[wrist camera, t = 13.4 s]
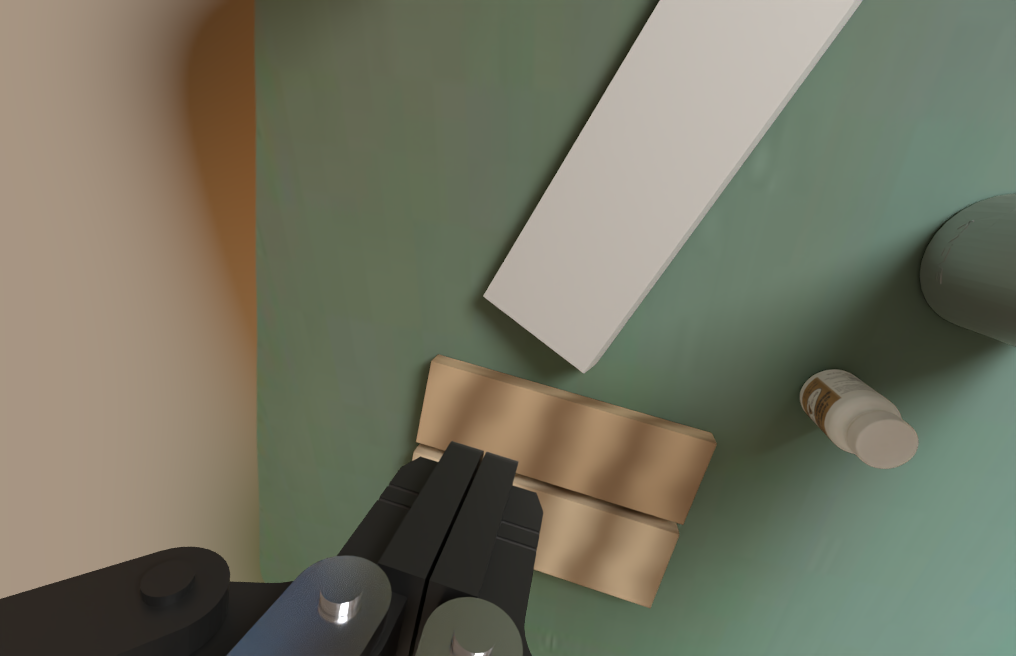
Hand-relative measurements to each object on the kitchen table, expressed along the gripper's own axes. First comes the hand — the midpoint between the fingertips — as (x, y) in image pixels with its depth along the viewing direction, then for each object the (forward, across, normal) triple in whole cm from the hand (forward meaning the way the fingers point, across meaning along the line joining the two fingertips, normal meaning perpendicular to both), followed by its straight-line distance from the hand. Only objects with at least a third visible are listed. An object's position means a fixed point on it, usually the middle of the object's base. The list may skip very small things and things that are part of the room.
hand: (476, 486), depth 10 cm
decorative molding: (+30, -4, -11) cm, 32 cm away
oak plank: (+29, -3, +23) cm, 37 cm away
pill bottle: (+29, -22, +4) cm, 37 cm away
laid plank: (+29, -3, +14) cm, 32 cm away
